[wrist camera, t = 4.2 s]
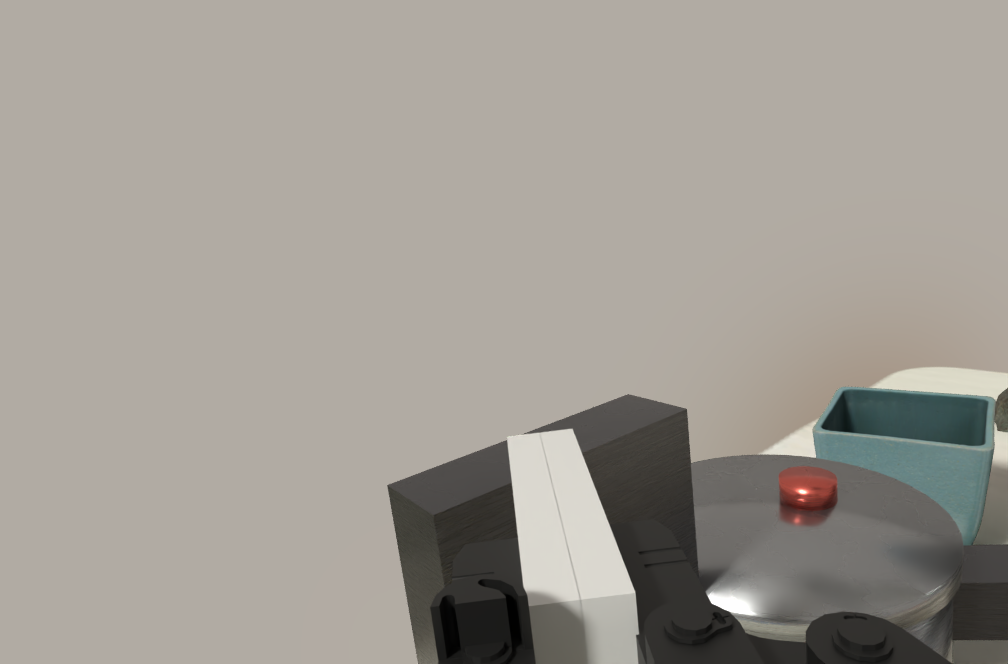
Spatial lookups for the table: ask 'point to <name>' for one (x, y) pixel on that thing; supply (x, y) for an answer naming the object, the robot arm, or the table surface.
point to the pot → (971, 603)
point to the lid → (706, 524)
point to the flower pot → (916, 444)
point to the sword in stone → (1002, 411)
